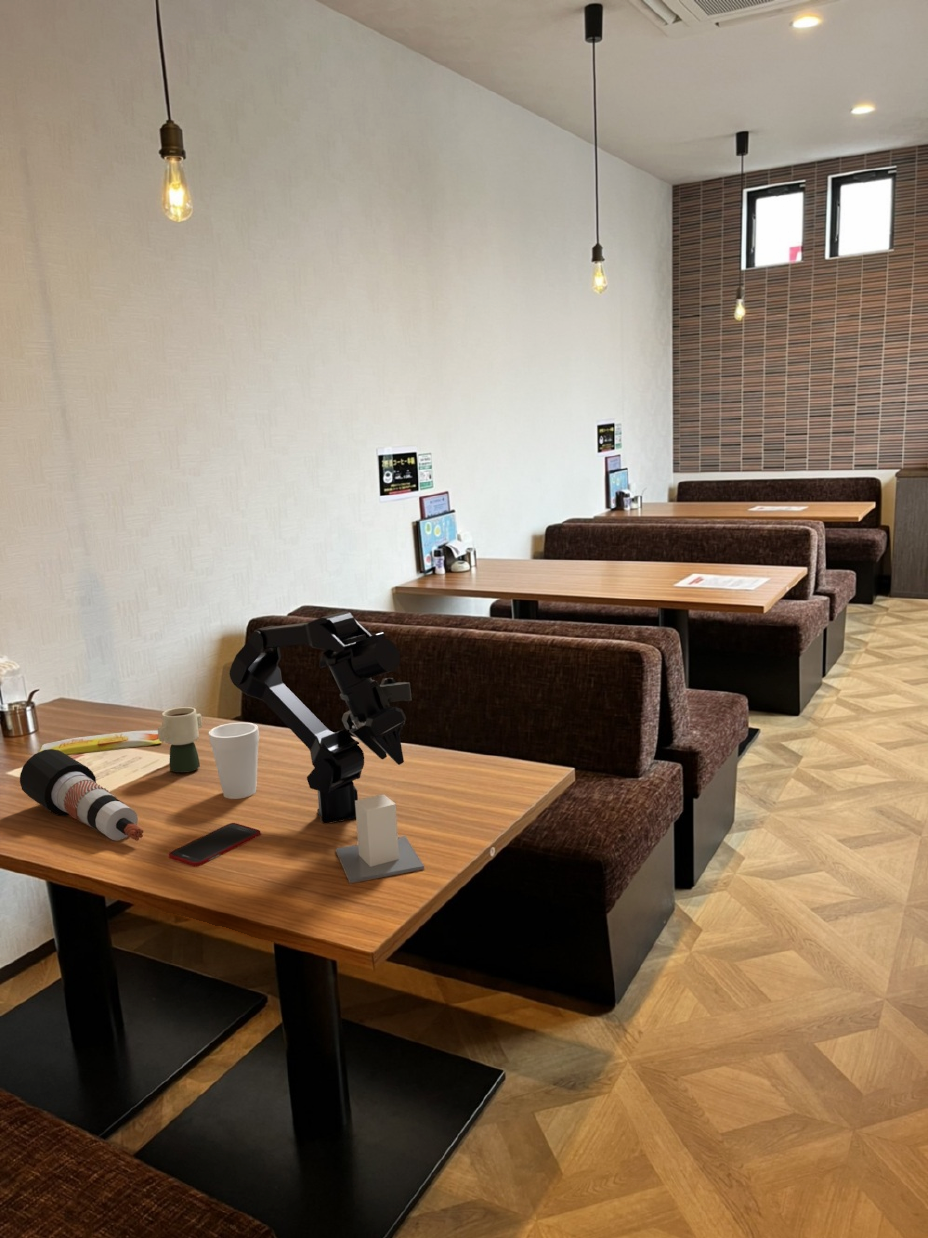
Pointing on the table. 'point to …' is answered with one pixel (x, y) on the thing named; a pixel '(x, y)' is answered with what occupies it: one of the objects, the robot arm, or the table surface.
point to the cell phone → (214, 844)
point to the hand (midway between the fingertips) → (392, 760)
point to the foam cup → (236, 758)
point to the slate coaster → (362, 871)
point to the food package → (104, 742)
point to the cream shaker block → (377, 830)
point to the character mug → (181, 737)
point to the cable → (77, 794)
